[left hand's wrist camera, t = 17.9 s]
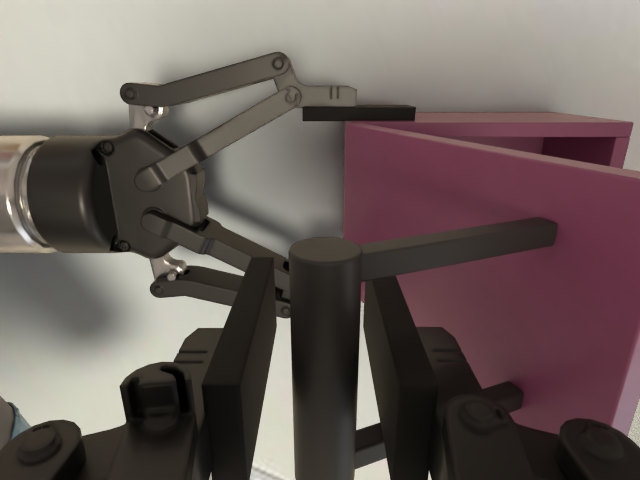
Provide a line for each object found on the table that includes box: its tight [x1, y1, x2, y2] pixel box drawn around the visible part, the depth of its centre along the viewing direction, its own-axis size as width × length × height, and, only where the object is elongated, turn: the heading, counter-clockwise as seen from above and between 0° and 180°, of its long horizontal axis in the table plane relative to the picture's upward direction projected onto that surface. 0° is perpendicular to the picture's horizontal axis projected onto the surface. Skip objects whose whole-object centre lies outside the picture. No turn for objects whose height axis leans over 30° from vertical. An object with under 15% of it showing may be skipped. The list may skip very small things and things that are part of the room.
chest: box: [343, 112, 633, 238], centre depth 29 cm, size 16×10×9 cm, turn 90°
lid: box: [289, 123, 640, 480], centre depth 16 cm, size 16×10×9 cm
